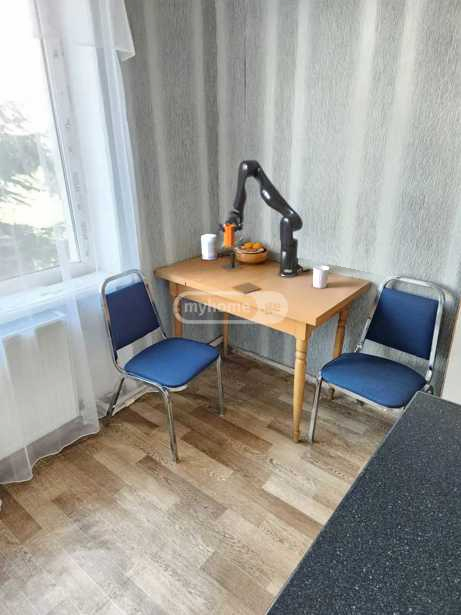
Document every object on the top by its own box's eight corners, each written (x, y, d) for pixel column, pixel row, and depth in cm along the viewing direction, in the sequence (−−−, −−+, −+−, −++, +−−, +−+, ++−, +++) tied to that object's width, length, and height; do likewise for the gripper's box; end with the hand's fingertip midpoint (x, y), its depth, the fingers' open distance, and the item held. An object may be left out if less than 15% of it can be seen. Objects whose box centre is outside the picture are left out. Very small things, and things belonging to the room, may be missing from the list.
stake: (236, 264, 238) (236, 249, 234) (242, 268, 230) (242, 253, 227) (222, 266, 235) (222, 251, 231) (228, 270, 227) (228, 255, 223)
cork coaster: (248, 283, 209) (248, 282, 209) (260, 289, 201) (260, 288, 201) (233, 287, 204) (233, 286, 204) (244, 293, 196) (244, 292, 196)
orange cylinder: (230, 243, 222) (230, 223, 217) (236, 245, 218) (236, 225, 213) (222, 245, 219) (222, 225, 214) (228, 247, 215) (228, 227, 210)
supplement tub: (219, 256, 252) (218, 234, 245) (214, 261, 243) (214, 238, 237) (204, 255, 254) (203, 233, 248) (199, 260, 246) (199, 237, 239)
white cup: (309, 284, 207) (310, 266, 203) (322, 282, 210) (323, 264, 206) (317, 289, 200) (318, 271, 196) (330, 287, 203) (332, 269, 199)
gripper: (220, 216, 227) (215, 223, 211) (244, 217, 225) (242, 223, 210) (220, 229, 230) (215, 236, 215) (244, 230, 228) (242, 237, 213)
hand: (228, 230), depth 212 cm, fingers closed on orange cylinder, 5 cm apart
